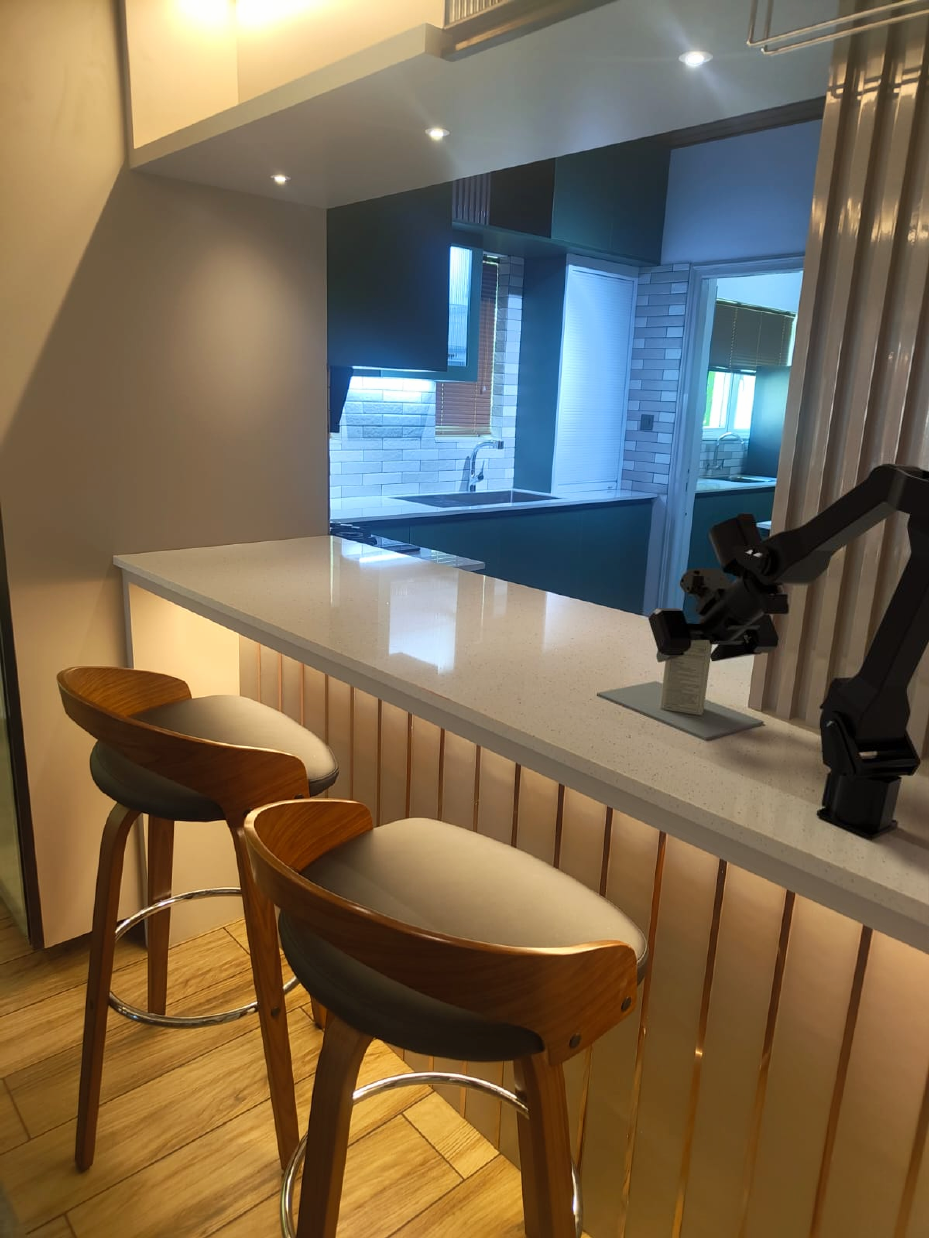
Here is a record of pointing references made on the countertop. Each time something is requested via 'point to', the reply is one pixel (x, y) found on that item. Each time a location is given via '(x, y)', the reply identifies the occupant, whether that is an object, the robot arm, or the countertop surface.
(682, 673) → the skincare box
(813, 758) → the countertop surface
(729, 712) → the slate mat
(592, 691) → the countertop surface
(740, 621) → the robot arm
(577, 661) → the countertop surface
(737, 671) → the countertop surface
